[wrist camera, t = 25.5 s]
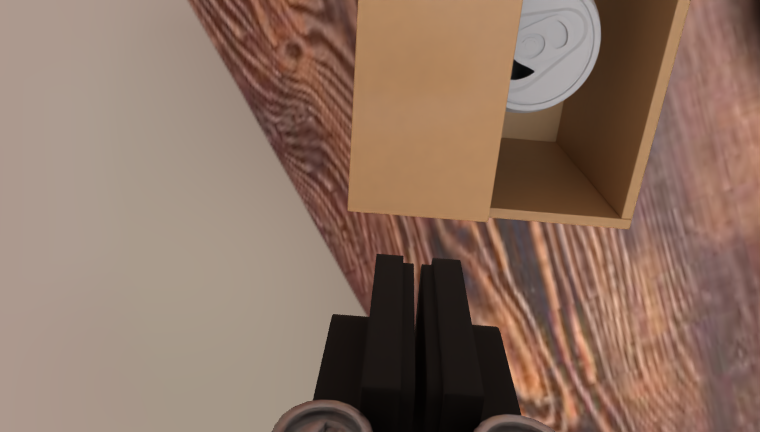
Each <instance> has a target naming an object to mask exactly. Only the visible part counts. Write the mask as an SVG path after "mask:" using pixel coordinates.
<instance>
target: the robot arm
mask: <svg viewBox="0 0 760 432" xmlns="http://www.w3.org/2000/svg"><path fill="white" fill-rule="evenodd" d="M272 432H555V431H554V430H553V429H551V428H550V427H548V426H546V425H545V424H543V423H541V422H539V421H537V420H535V419H531V418H528V417H525V416H521V412H520V408H519V404H518V400H517V396H516V392H515V388H514V384H513V381H512V377H511V373H510V369H509V365H508V361H507V357H506V353H505V349H504V345H503V341H502V337H501V333H500V331H499V328H498V327H493V326H480V325H472V323H471V317H470V311H469V306H468V300H467V295H466V289H465V284H464V278H463V272H462V267H461V262H460V260H451V259H438V258H433V259H432V264H431V265H424V264H422V266H421V274H420V284H419V294H418V304H417V314H416V324H415V325H414V264H410V263H403V256H398V255H384V254H377V256H376V265H375V274H374V282H373V291H372V299H371V308H370V317H363V316H349V315H338V314H333V315H332V319H331V323H330V327H329V331H328V337H327V341H326V345H325V350H324V353H323V358H322V362H321V367H320V371H319V376H318V380H317V384H316V389H315V393H314V398H313V401H308V402H305V403H302V404H300V405H297V406H295V407H293V408H292V409H290V410H289V411H287V412H286V413H285V414H283V415H282V417H281V418H280V419H279V421H278V422H277V423H276V425H275V426H274V428H273V431H272Z"/></svg>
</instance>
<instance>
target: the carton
mask: <svg viewBox="0 0 760 432" xmlns="http://www.w3.org/2000/svg"><path fill="white" fill-rule="evenodd" d="M690 1H691V0H594V2H595V5H596V7H597V10H598V13H599V18H600V25H601V41H600V48H599V53H598V56H597V59H596V62H595V65H594V67H593V69H592V71H591V73H590V74H589V76H588V77H587V79H586V80H585V81H584V83H583V84H582V85H581V86H580V87H579V88H578V89H577V90H576V91H575V92H574V93H573V94H572V95H570V96H569V97H568V98H566V99H565V100H563V101H561V102H560V103H558V104H556V105H554V106H552V107H550V108H547V109H544V110H541V111H537V112H531V113H512V112H506V111H505V118H504V124H503V130H502V137H501V143H500V149H499V156H498V162H497V168H496V175H495V181H494V187H493V193H492V200H491V206H490V212H489V217H491V218H503V219H514V220H526V221H538V222H549V223H561V224H573V225H584V226H596V227H608V228H619V229H629V228H630V224H631V221H632V220H631V219H632V217H633V213H634V209H635V205H636V202H637V198H638V194H639V191H640V187H641V183H642V179H643V176H644V172H645V168H646V165H647V161H648V157H649V153H650V150H651V146H652V142H653V139H654V135H655V131H656V127H657V124H658V120H659V116H660V112H661V109H662V105H663V101H664V98H665V94H666V90H667V86H668V83H669V79H670V75H671V72H672V68H673V64H674V60H675V57H676V53H677V49H678V46H679V42H680V38H681V34H682V31H683V27H684V23H685V19H686V16H687V12H688V8H689V5H690ZM357 11H358V9H357ZM356 31H357V30H356ZM355 51H356V50H355ZM354 72H355V70H354ZM353 92H354V90H353ZM352 112H353V110H352ZM351 132H352V131H351ZM350 152H351V151H350ZM349 173H350V171H349ZM348 193H349V191H348Z"/></svg>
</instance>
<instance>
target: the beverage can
mask: <svg viewBox="0 0 760 432" xmlns="http://www.w3.org/2000/svg"><path fill="white" fill-rule="evenodd" d="M600 41H601V25H600V18H599V13H598V10H597V7H596V5H595V2H594V0H523V4H522V10H521V17H520V23H519V29H518V36H517V42H516V48H515V55H514V61H513V67H512V73H511V80H510V86H509V92H508V99H507V105H506V112H512V113H531V112H537V111H541V110H544V109H547V108H550V107H552V106H554V105H556V104H558V103H560V102H561V101H563V100H565V99H566V98H568V97H569V96H570V95H572V94H573V93H574V92H575V91H576V90H577V89H578V88H579V87H580V86H581V85H582V84H583V83H584V81H585V80H586V79H587V77H588V76H589V74H590V73H591V71H592V69H593V67H594V65H595V62H596V59H597V56H598V53H599V48H600Z"/></svg>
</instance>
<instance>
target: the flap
mask: <svg viewBox="0 0 760 432" xmlns="http://www.w3.org/2000/svg"><path fill="white" fill-rule="evenodd" d="M522 4H523V0H358V11H357V31H356V51H355V72H354V92H353V112H352V132H351V152H350V173H349V193H348V211H354V212H366V213H378V214H391V215H403V216H416V217H428V218H441V219H453V220H466V221H478V222H488V219H489V212H490V206H491V200H492V193H493V187H494V181H495V175H496V168H497V162H498V156H499V149H500V143H501V137H502V130H503V124H504V118H505V111H506V105H507V99H508V92H509V86H510V80H511V73H512V67H513V61H514V55H515V48H516V42H517V36H518V29H519V23H520V17H521V10H522Z"/></svg>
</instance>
